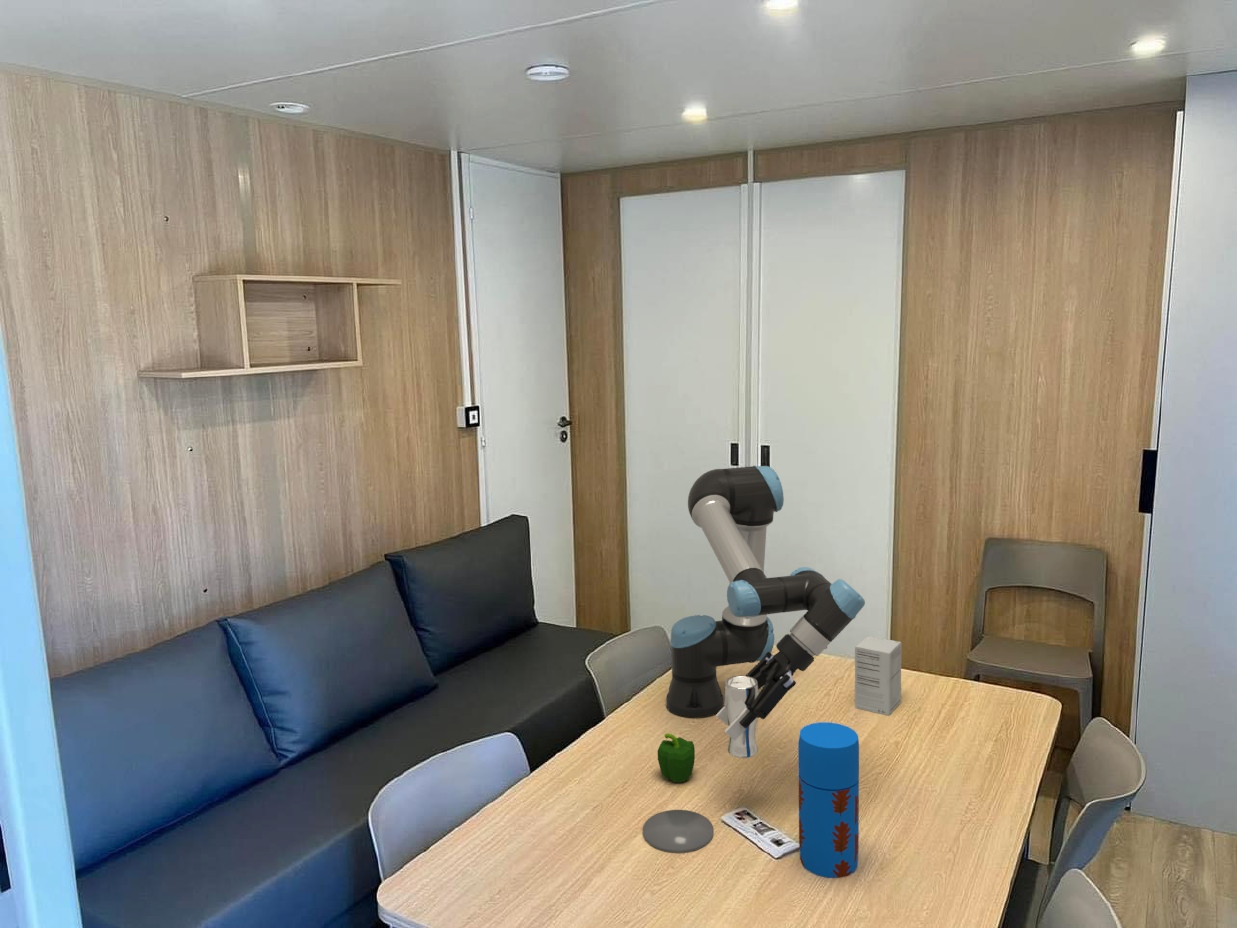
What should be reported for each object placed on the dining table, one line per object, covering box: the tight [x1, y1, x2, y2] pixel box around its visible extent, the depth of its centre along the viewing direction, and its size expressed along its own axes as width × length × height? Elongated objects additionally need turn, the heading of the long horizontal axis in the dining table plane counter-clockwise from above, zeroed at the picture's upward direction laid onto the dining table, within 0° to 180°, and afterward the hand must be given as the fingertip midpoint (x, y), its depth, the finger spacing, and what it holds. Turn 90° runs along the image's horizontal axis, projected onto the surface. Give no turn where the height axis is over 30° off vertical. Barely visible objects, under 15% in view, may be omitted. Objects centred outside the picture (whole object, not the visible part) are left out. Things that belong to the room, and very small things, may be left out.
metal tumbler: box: [724, 675, 760, 759], centre depth 182 cm, size 7×7×15 cm
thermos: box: [797, 721, 860, 879], centre depth 164 cm, size 11×11×25 cm
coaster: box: [642, 809, 714, 854], centre depth 177 cm, size 14×14×1 cm
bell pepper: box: [657, 733, 696, 783], centre depth 198 cm, size 8×8×10 cm
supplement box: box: [854, 635, 902, 717], centre depth 230 cm, size 10×9×17 cm
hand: (725, 727), depth 182 cm, fingers closed on metal tumbler, 7 cm apart
